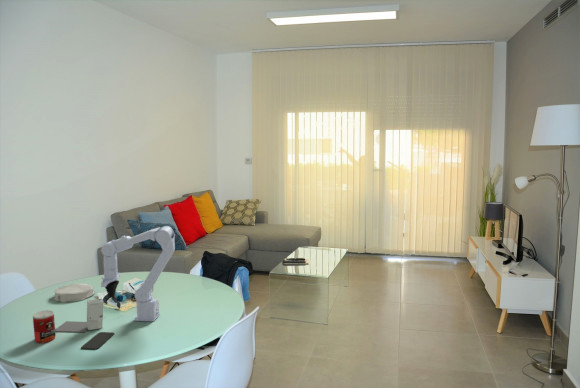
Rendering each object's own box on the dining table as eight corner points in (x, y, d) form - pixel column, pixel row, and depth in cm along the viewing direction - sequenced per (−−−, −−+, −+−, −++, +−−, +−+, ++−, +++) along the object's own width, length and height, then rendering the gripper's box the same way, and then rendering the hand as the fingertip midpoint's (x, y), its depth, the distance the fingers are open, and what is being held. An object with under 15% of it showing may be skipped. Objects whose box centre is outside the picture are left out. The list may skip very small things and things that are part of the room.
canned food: (41, 345, 182) (39, 319, 181) (30, 340, 187) (28, 315, 185) (59, 337, 189) (57, 312, 187) (48, 333, 193) (47, 308, 192)
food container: (44, 300, 233) (43, 287, 232) (76, 287, 251) (75, 275, 250) (73, 306, 226) (72, 293, 225) (103, 292, 244) (102, 280, 243)
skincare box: (88, 330, 195) (88, 303, 193) (86, 326, 199) (86, 300, 197) (103, 328, 198) (103, 301, 197) (101, 324, 202) (101, 298, 200)
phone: (115, 332, 193) (97, 348, 178) (115, 334, 193) (97, 350, 178) (99, 331, 194) (79, 347, 179) (99, 333, 194) (79, 349, 179)
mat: (96, 322, 204) (96, 322, 203) (84, 332, 194) (84, 331, 194) (66, 322, 205) (66, 321, 205) (53, 331, 195) (53, 330, 195)
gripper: (109, 263, 212) (110, 291, 214) (93, 272, 198) (95, 302, 200) (124, 263, 212) (125, 291, 213) (109, 273, 197) (110, 303, 199)
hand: (111, 297), depth 207 cm, fingers closed
